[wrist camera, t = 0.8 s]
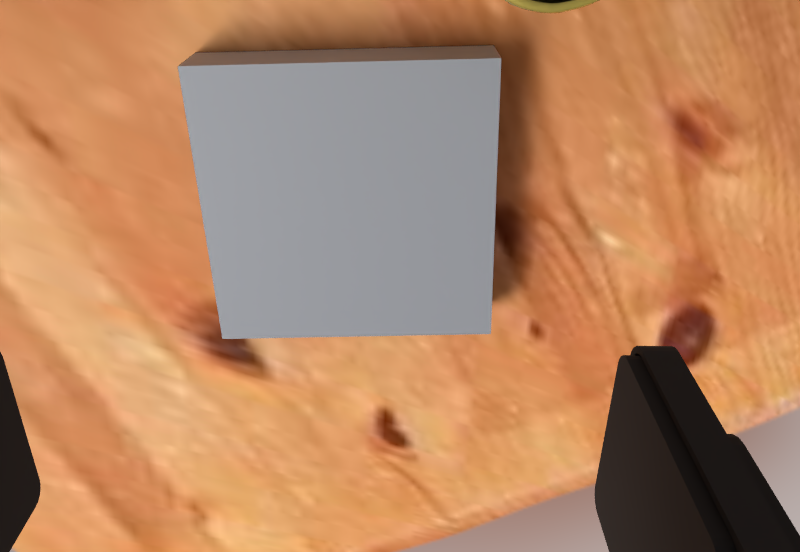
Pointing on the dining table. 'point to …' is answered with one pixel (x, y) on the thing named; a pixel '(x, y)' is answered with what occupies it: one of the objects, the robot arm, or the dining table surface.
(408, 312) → the plinth
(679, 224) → the dining table surface
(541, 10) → the vase
